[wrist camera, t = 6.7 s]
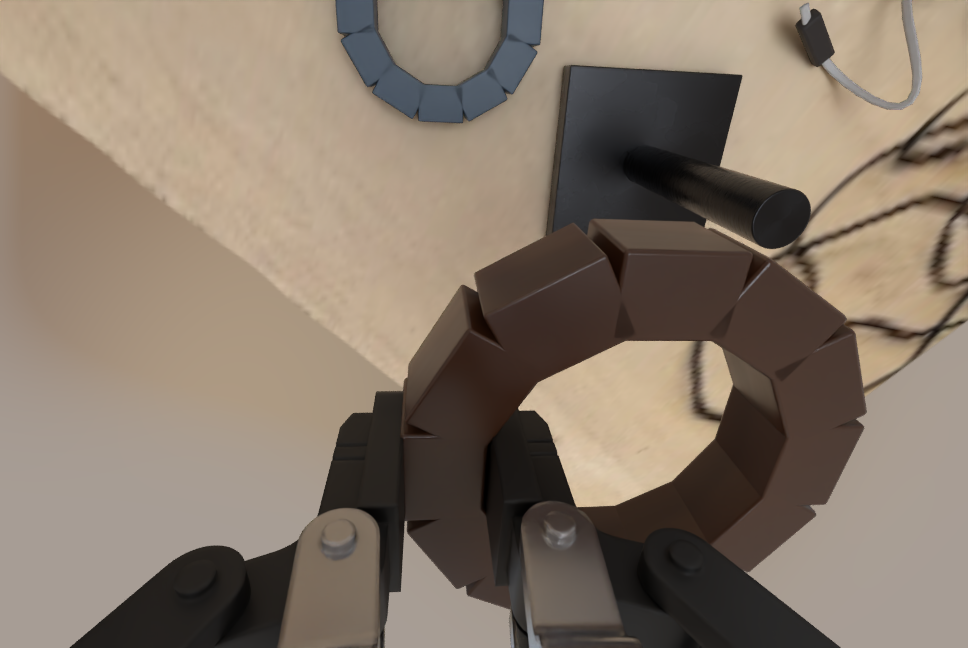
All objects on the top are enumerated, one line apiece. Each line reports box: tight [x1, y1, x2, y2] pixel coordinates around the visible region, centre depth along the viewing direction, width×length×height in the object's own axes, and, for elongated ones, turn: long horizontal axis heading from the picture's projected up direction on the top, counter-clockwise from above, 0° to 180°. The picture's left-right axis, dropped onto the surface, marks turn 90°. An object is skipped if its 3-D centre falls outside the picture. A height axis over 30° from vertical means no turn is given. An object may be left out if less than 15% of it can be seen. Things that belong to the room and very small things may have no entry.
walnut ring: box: [400, 219, 867, 609], centre depth 12 cm, size 10×10×2 cm
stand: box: [546, 65, 811, 249], centre depth 24 cm, size 10×10×14 cm
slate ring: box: [335, 0, 544, 123], centre depth 25 cm, size 10×10×2 cm
